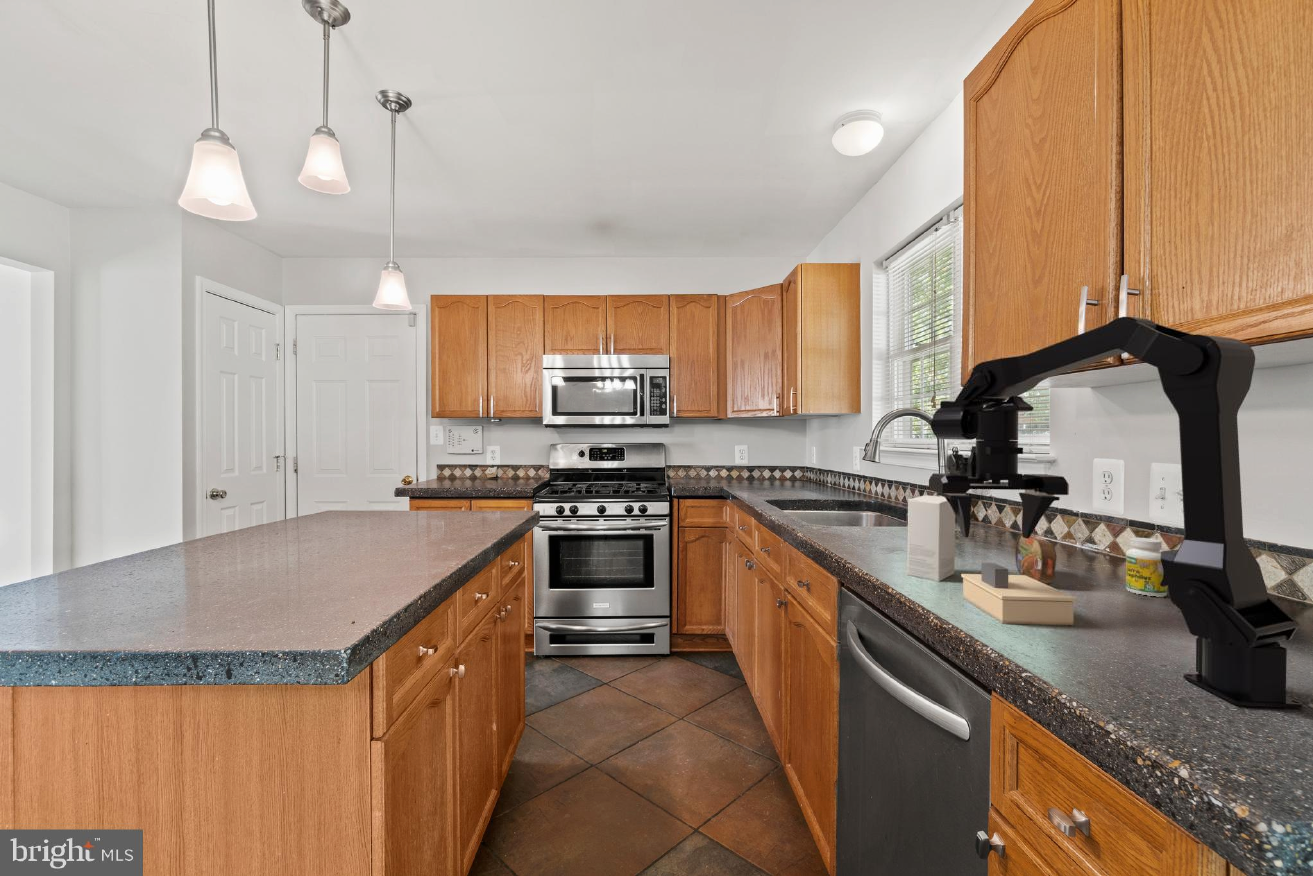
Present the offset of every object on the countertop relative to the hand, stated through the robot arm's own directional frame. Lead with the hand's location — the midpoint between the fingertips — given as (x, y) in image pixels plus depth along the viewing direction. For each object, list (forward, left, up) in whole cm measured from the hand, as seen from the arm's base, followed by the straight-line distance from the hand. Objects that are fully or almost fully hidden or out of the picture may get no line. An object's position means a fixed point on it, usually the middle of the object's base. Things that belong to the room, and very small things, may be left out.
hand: (995, 537), depth 85 cm
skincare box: (+21, +1, -12) cm, 24 cm away
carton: (0, -3, -12) cm, 12 cm away
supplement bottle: (+12, -32, -12) cm, 36 cm away
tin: (+20, -18, -12) cm, 29 cm away
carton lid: (0, -3, -8) cm, 9 cm away
